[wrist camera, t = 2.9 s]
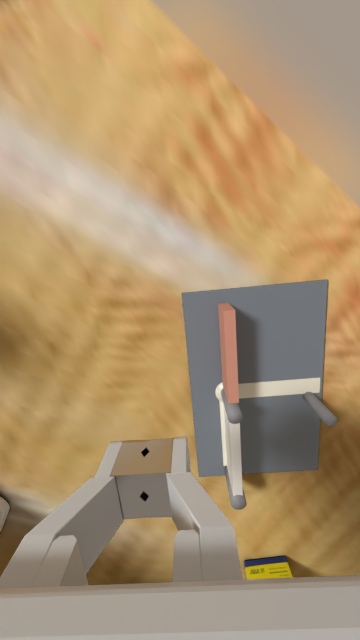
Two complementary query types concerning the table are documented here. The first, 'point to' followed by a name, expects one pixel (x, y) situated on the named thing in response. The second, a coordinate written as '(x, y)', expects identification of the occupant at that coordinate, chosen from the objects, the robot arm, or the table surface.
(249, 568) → the supplement box
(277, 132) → the table surface
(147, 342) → the table surface
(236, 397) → the fence panel
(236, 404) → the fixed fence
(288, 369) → the card
